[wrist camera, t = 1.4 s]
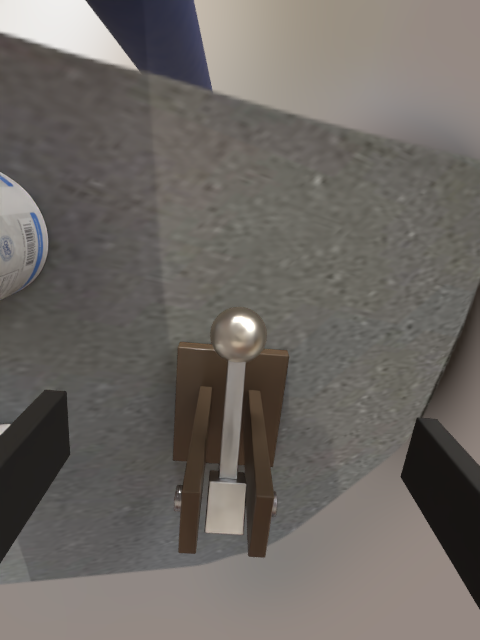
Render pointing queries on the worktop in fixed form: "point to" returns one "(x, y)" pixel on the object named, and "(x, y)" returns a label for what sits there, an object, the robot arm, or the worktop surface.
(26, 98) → the worktop surface
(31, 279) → the supplement tub
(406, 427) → the worktop surface
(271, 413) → the bracket
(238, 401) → the tap lever
